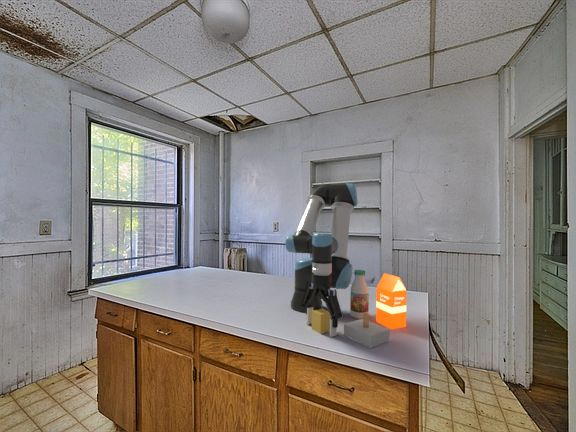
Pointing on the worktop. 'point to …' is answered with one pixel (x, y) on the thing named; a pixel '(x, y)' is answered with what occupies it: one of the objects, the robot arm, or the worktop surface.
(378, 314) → the orange juice
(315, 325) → the yellow rectangular block
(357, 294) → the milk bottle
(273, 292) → the worktop surface
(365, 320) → the toggle switch box
